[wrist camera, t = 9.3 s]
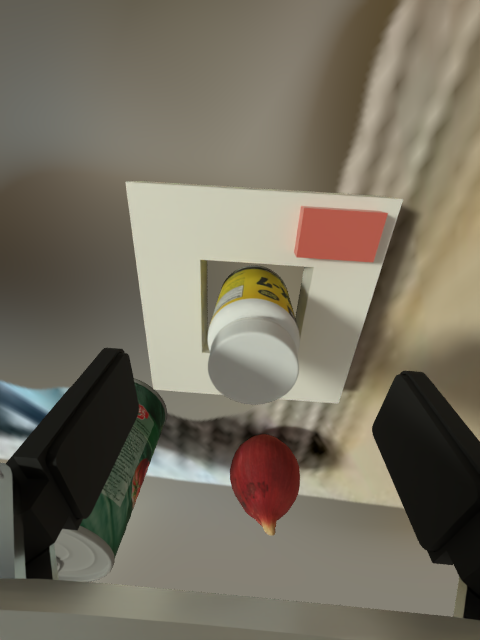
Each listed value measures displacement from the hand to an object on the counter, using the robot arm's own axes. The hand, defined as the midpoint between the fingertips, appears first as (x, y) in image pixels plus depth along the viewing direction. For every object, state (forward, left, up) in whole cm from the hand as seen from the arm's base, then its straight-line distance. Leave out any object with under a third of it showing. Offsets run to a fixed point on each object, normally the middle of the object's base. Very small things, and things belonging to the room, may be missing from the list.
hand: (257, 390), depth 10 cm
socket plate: (+1, 0, -10) cm, 10 cm away
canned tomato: (+13, -11, -10) cm, 20 cm away
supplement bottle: (+1, 0, -10) cm, 10 cm away
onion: (+15, +2, -10) cm, 19 cm away
